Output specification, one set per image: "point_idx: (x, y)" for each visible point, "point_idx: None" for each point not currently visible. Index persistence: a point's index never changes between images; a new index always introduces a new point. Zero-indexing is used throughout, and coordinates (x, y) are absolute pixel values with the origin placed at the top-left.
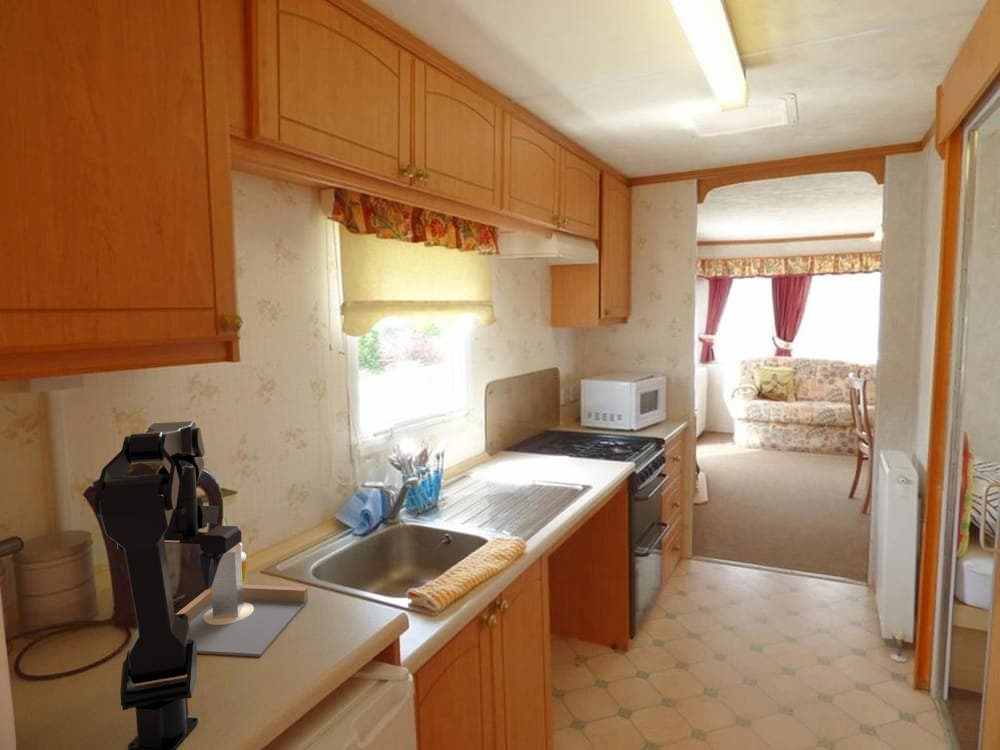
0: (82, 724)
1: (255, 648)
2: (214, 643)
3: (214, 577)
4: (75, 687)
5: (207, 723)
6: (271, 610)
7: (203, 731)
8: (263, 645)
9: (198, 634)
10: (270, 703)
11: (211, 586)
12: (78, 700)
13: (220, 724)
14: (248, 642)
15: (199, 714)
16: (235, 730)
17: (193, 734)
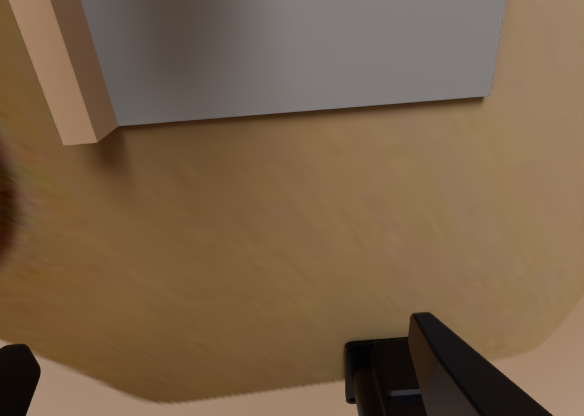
0: (209, 368)
1: (460, 66)
2: (290, 61)
3: (478, 355)
4: (68, 295)
5: None
6: None
7: None
8: (482, 39)
9: (180, 6)
10: (569, 267)
11: (427, 313)
12: (126, 324)
13: (480, 330)
14: (417, 30)
15: None
16: (516, 337)
17: None
